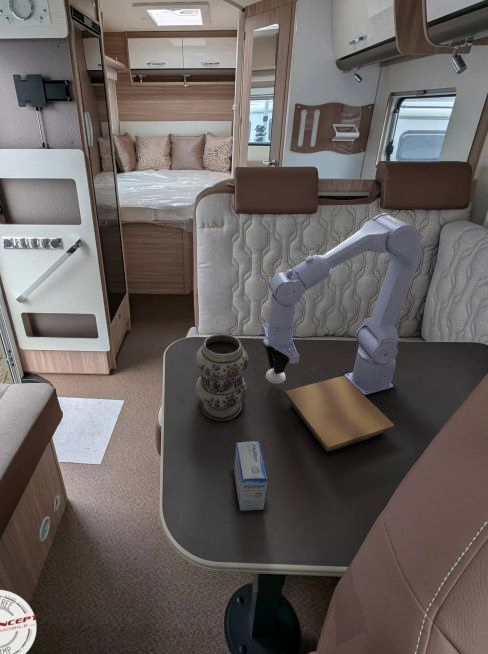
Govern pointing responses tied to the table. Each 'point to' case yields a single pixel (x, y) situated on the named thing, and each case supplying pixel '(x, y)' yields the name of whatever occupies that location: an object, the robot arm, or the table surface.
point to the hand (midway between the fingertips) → (276, 369)
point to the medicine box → (250, 476)
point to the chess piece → (275, 376)
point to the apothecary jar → (221, 376)
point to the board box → (337, 413)
